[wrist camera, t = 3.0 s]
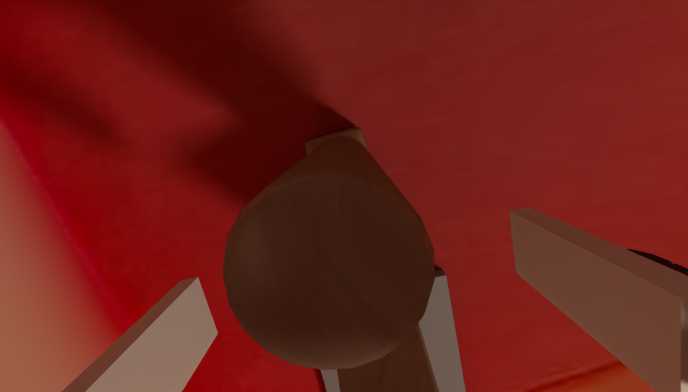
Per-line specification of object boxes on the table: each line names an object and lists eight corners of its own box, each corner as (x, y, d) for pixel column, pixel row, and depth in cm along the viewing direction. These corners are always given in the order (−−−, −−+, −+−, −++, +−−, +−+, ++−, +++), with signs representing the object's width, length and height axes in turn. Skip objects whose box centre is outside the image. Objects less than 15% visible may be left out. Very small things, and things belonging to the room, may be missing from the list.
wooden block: (348, 275, 25) (354, 655, 7) (309, 139, 22) (168, 197, 5) (395, 263, 24) (521, 628, 7) (360, 125, 22) (412, 131, 4)
